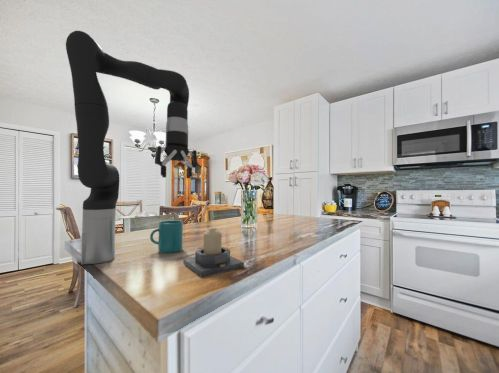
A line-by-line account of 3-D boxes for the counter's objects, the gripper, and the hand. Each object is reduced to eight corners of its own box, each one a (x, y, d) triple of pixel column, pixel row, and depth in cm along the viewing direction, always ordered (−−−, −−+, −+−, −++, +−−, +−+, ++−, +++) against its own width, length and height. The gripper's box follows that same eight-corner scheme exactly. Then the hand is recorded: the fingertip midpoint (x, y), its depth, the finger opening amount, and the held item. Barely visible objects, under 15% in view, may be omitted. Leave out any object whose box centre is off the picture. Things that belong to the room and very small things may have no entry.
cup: (150, 249, 88) (150, 221, 88) (181, 246, 92) (181, 220, 93) (149, 255, 79) (149, 224, 80) (183, 252, 84) (184, 222, 84)
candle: (217, 263, 66) (218, 230, 66) (200, 262, 67) (201, 229, 67) (223, 258, 71) (223, 227, 71) (207, 257, 72) (207, 227, 72)
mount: (201, 277, 59) (201, 260, 59) (183, 263, 71) (183, 249, 71) (243, 267, 67) (243, 252, 68) (221, 256, 79) (221, 243, 79)
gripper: (192, 137, 86) (191, 179, 85) (153, 131, 77) (152, 177, 77) (200, 133, 79) (199, 178, 79) (158, 126, 71) (158, 176, 71)
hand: (176, 177), depth 78 cm, fingers open, 8 cm apart
